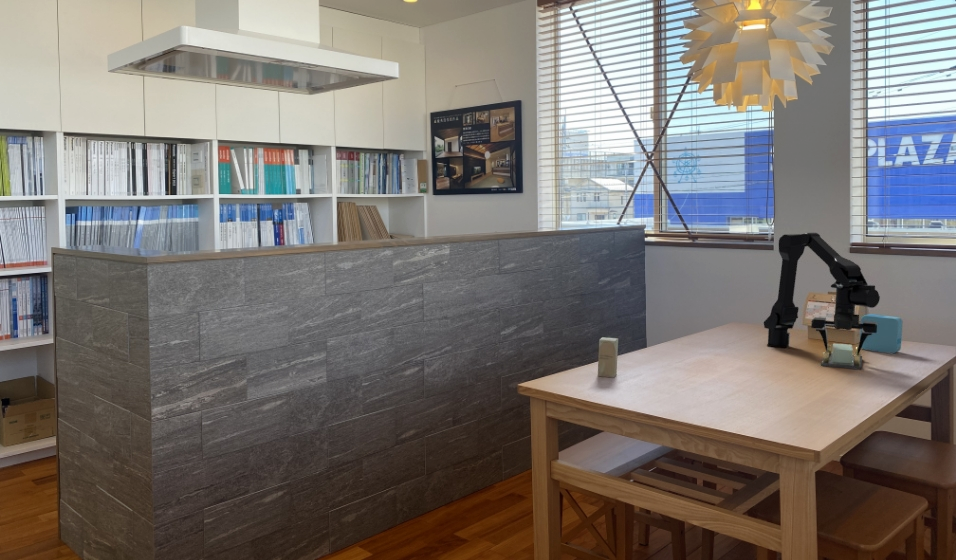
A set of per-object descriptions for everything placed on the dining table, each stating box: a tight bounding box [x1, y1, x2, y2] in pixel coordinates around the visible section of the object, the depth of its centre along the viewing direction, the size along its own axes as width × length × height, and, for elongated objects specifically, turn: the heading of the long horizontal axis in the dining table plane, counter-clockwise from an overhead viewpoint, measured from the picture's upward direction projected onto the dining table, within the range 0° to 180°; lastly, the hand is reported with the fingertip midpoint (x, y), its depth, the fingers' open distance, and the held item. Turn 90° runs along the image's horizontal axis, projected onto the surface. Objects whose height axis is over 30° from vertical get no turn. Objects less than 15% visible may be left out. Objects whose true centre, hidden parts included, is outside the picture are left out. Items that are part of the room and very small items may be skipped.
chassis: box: [820, 344, 863, 371], centre depth 246 cm, size 11×17×4 cm, turn 152°
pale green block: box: [832, 343, 854, 363], centre depth 246 cm, size 6×10×4 cm, turn 156°
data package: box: [859, 313, 904, 354], centre depth 264 cm, size 12×4×12 cm, turn 44°
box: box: [597, 336, 619, 378], centre depth 227 cm, size 5×4×11 cm
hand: (842, 351), depth 246 cm, fingers open, 9 cm apart
